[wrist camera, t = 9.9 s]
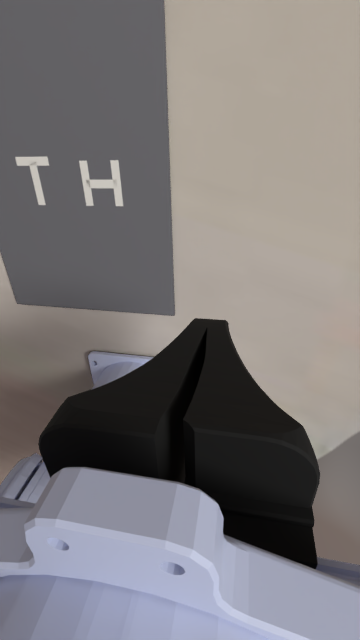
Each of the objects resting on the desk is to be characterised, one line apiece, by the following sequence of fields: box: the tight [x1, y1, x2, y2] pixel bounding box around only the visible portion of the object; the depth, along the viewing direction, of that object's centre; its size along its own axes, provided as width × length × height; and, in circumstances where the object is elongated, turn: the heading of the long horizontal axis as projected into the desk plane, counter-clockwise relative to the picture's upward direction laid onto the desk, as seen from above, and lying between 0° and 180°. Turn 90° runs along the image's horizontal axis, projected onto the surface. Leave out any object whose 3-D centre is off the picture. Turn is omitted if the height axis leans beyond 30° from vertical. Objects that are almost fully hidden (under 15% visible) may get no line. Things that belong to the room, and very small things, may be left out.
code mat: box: [0, 0, 175, 316], centre depth 20 cm, size 18×13×1 cm
